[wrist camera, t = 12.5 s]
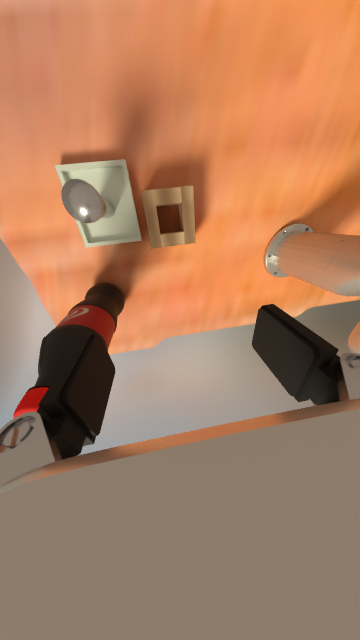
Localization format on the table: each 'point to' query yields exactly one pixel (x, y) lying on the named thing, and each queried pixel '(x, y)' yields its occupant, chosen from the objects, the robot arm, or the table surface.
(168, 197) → the square wooden holder
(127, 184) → the tray
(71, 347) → the cola bottle
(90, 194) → the pin
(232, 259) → the table surface
